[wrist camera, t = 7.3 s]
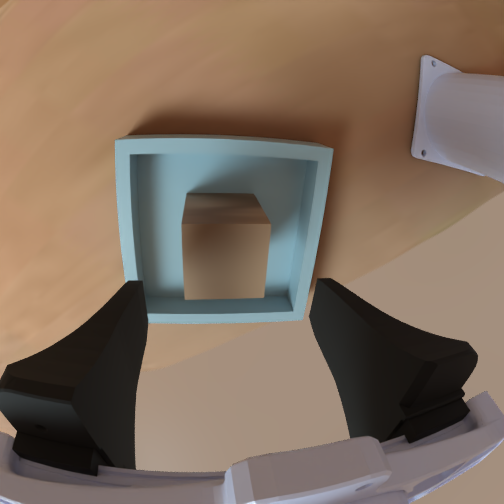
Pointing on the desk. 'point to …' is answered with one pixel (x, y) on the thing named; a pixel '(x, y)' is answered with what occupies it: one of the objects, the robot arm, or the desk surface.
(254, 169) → the tray
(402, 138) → the desk surface
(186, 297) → the walnut block
